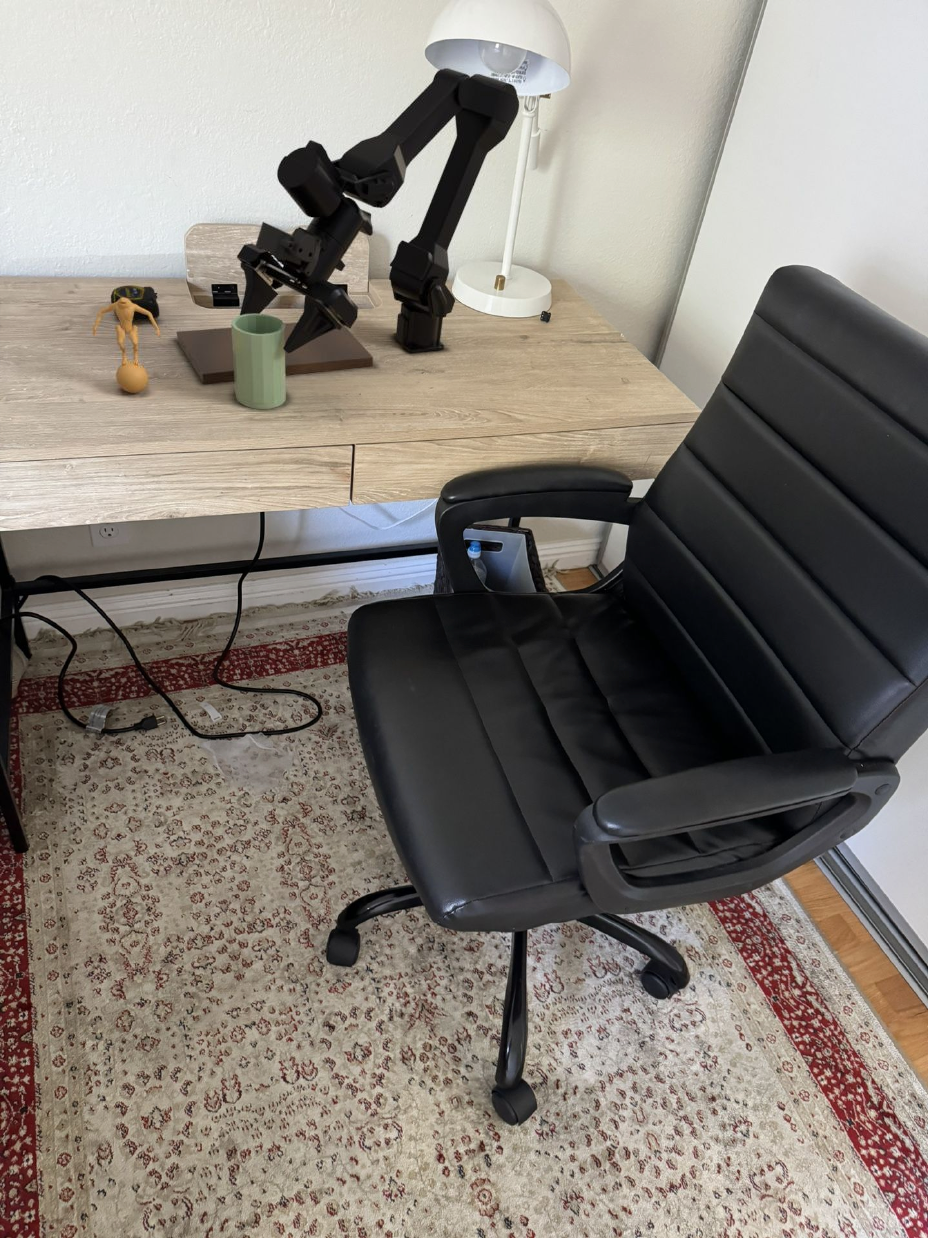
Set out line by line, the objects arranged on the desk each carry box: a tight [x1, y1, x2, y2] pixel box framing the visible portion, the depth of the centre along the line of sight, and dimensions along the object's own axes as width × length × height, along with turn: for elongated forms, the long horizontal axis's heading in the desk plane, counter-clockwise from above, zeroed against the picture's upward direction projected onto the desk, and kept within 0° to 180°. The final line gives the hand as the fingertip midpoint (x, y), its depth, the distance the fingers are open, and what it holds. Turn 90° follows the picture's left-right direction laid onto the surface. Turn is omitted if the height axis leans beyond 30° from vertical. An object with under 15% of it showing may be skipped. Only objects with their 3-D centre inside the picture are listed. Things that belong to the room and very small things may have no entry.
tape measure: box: [110, 284, 160, 321], centre depth 125 cm, size 7×7×4 cm
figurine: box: [92, 297, 162, 394], centre depth 106 cm, size 8×6×12 cm
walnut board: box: [176, 322, 374, 385], centre depth 122 cm, size 26×14×2 cm, turn 118°
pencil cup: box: [230, 313, 287, 410], centre depth 109 cm, size 7×7×10 cm
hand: (262, 338), depth 107 cm, fingers open, 9 cm apart
